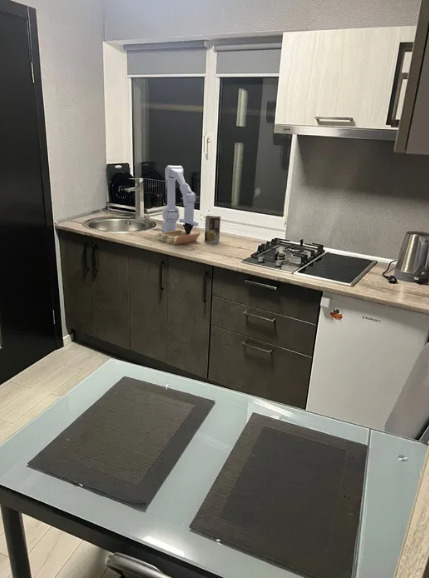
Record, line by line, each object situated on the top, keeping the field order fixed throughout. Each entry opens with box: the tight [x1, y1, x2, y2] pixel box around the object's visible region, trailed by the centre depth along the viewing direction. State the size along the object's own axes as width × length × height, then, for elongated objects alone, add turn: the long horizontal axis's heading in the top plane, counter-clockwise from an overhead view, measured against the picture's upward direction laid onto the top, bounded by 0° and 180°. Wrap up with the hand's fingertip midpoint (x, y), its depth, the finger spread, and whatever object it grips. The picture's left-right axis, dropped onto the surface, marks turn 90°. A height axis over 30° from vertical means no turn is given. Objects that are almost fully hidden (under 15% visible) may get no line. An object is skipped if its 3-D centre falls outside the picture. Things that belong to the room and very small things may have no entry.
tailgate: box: [173, 231, 201, 245], centre depth 260 cm, size 1×18×6 cm
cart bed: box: [158, 229, 193, 245], centre depth 266 cm, size 13×18×4 cm
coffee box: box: [204, 215, 222, 244], centre depth 266 cm, size 9×6×16 cm
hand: (188, 235), depth 259 cm, fingers closed, pressing on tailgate
